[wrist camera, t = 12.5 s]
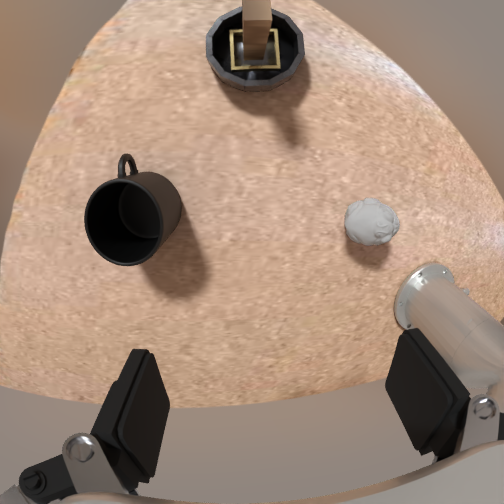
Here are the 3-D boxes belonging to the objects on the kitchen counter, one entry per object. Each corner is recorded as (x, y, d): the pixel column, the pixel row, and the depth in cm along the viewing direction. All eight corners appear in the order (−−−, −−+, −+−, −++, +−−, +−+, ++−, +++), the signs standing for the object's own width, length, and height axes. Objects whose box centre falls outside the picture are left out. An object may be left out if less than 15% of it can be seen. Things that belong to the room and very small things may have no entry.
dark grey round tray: (295, 18, 27) (299, 7, 24) (301, 91, 31) (307, 85, 28) (208, 20, 27) (205, 9, 24) (210, 94, 31) (207, 88, 28)
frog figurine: (378, 236, 38) (402, 253, 31) (333, 237, 38) (350, 255, 31) (382, 194, 36) (407, 203, 29) (335, 193, 36) (354, 202, 29)
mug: (174, 146, 33) (152, 145, 25) (187, 237, 37) (170, 263, 29) (108, 159, 33) (73, 164, 25) (123, 244, 37) (94, 270, 29)
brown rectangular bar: (262, 39, 28) (269, -5, 17) (263, 59, 29) (272, 20, 18) (242, 40, 28) (242, -5, 17) (243, 60, 29) (243, 20, 18)
